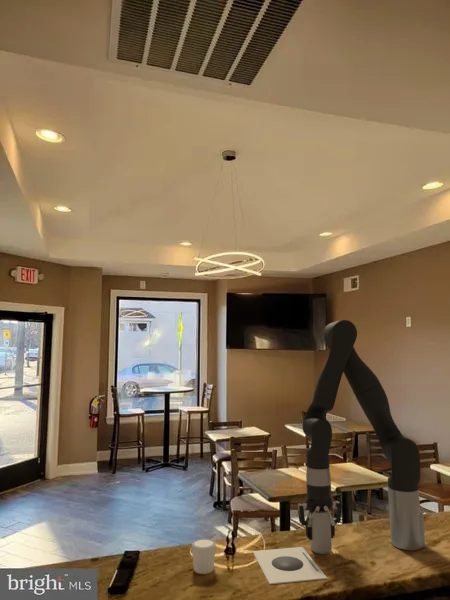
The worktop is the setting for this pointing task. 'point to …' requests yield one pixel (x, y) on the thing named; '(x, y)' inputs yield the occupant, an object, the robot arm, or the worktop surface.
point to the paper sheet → (288, 565)
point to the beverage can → (321, 533)
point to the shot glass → (203, 555)
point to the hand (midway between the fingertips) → (320, 538)
